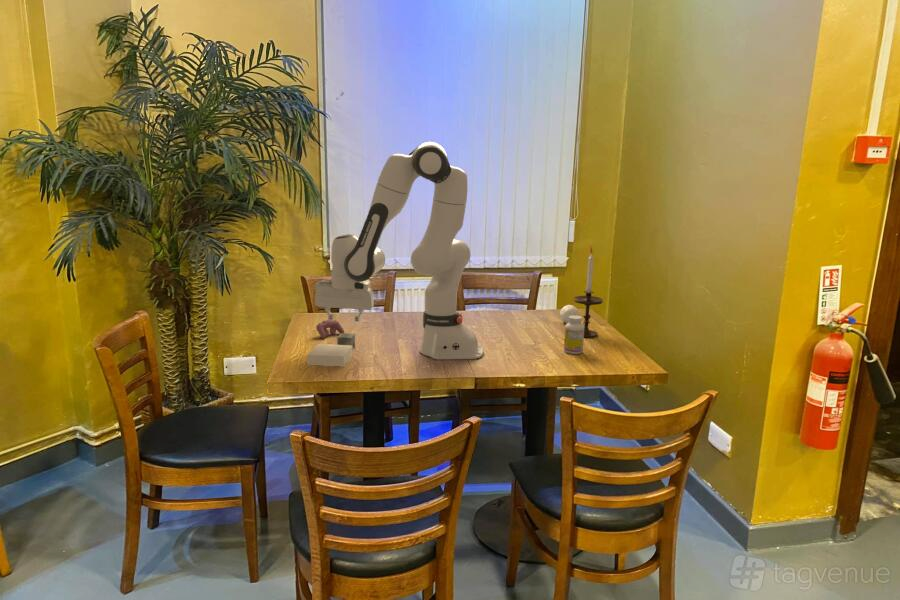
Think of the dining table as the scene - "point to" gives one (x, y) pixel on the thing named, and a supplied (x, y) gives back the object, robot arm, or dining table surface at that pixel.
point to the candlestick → (588, 299)
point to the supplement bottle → (574, 335)
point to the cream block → (330, 355)
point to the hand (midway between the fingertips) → (344, 320)
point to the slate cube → (346, 339)
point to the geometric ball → (568, 312)
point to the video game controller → (330, 324)
